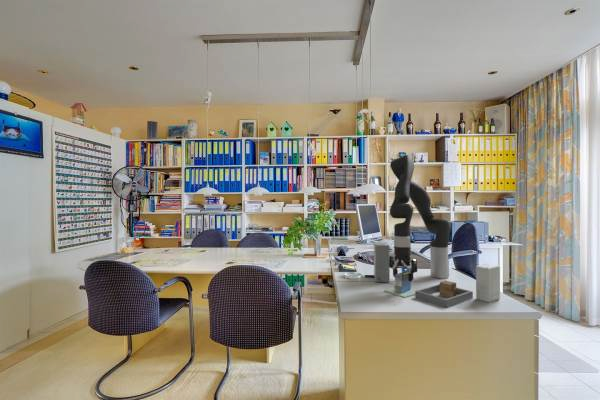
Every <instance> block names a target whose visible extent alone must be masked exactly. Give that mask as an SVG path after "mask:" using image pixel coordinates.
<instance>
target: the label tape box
mask: <svg viewBox="0 0 600 400" xmlns="http://www.w3.org/2000/svg"><path fill="white" fill-rule="evenodd" d="M400 267H401V268H400V269H401V272H399V273H398V274H396V275H395V277H394V287H395V292H397V293H401V294H402V293H404V292H406V291H408V290H411V289H412V288H411V287H412V286H411V285H412V283H411V282H412V281H409V280H408V273H409V272H408V270H407V269H406V268H405V267H402V266H400Z"/></svg>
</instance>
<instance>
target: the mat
mask: <svg viewBox="0 0 600 400" xmlns="http://www.w3.org/2000/svg"><path fill="white" fill-rule="evenodd" d="M383 291H384V292H386V293H389V294H392V295H395V296H398V297H401V298H408V297H409V298H410V297H413V296H415V291H417V290H416V289H413V288H411V290H408V291H406V292H404V293H402V294H401V293H397V292H395V286H394V287H390V288H387V289H384V290H383Z"/></svg>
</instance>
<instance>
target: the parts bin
mask: <svg viewBox="0 0 600 400" xmlns="http://www.w3.org/2000/svg"><path fill="white" fill-rule="evenodd" d="M435 293H440V283H439V284H434V285H432V286H429V287H424V288H421V289H417V290H416V291H415V295H414V296H415V299H419V300H422V301H426V302H429V303H432V304H434V305H438V306H441V307H444V308H450V307H453V306H456V305H458V304H461V303H464V302H466V301H469V300H471V299H473V298H474V296H473V294H474V292H473V290H469V289H464V288H460V287H457V286H456V296H454V297H451V298H449V297H447V298H443V297H440V296H437V295H434V294H435Z"/></svg>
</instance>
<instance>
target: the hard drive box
mask: <svg viewBox="0 0 600 400" xmlns="http://www.w3.org/2000/svg"><path fill="white" fill-rule="evenodd" d="M389 257H390V245H389V243H388V242H387V241H374V242H373V271H374V272H373V273H374V275H373V277H374V282H375V283H390V267H389Z"/></svg>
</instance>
